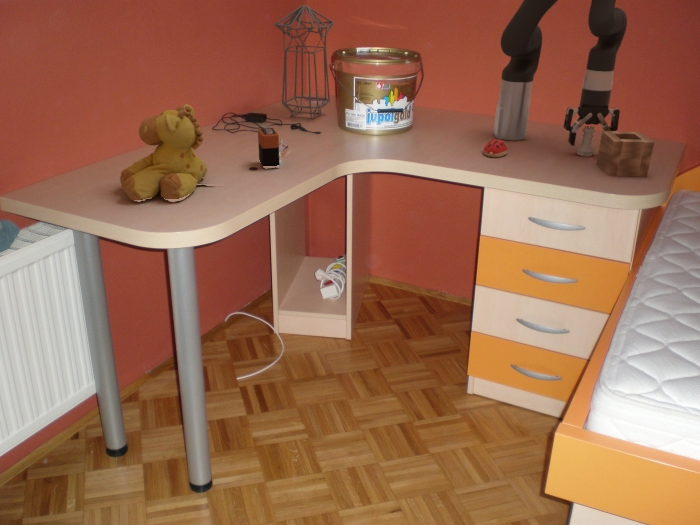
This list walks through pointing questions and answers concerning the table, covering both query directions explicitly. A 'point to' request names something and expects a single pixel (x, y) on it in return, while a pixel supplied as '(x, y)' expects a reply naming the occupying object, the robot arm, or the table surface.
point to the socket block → (624, 153)
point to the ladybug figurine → (495, 149)
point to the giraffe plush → (167, 157)
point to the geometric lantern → (294, 18)
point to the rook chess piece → (586, 142)
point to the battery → (268, 146)
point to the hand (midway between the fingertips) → (587, 145)
